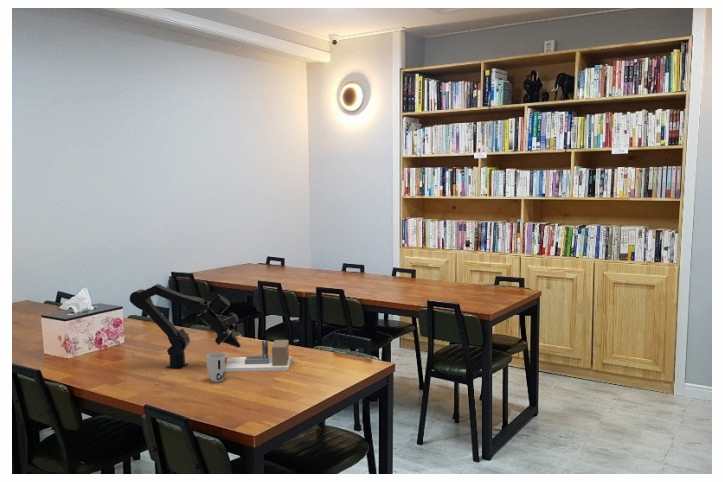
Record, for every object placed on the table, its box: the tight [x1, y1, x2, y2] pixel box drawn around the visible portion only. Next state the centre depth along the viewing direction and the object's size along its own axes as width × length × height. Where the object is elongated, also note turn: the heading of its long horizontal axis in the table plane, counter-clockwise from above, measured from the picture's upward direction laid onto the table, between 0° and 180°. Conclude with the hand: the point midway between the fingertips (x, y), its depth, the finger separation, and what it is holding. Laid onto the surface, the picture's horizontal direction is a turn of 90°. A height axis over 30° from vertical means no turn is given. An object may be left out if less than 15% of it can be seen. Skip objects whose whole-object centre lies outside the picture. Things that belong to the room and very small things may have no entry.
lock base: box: [225, 339, 292, 373], centre depth 262 cm, size 30×16×10 cm, turn 92°
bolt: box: [261, 340, 272, 362], centre depth 262 cm, size 10×3×9 cm, turn 92°
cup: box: [205, 352, 228, 383], centre depth 243 cm, size 8×8×10 cm
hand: (239, 346), depth 262 cm, fingers closed
